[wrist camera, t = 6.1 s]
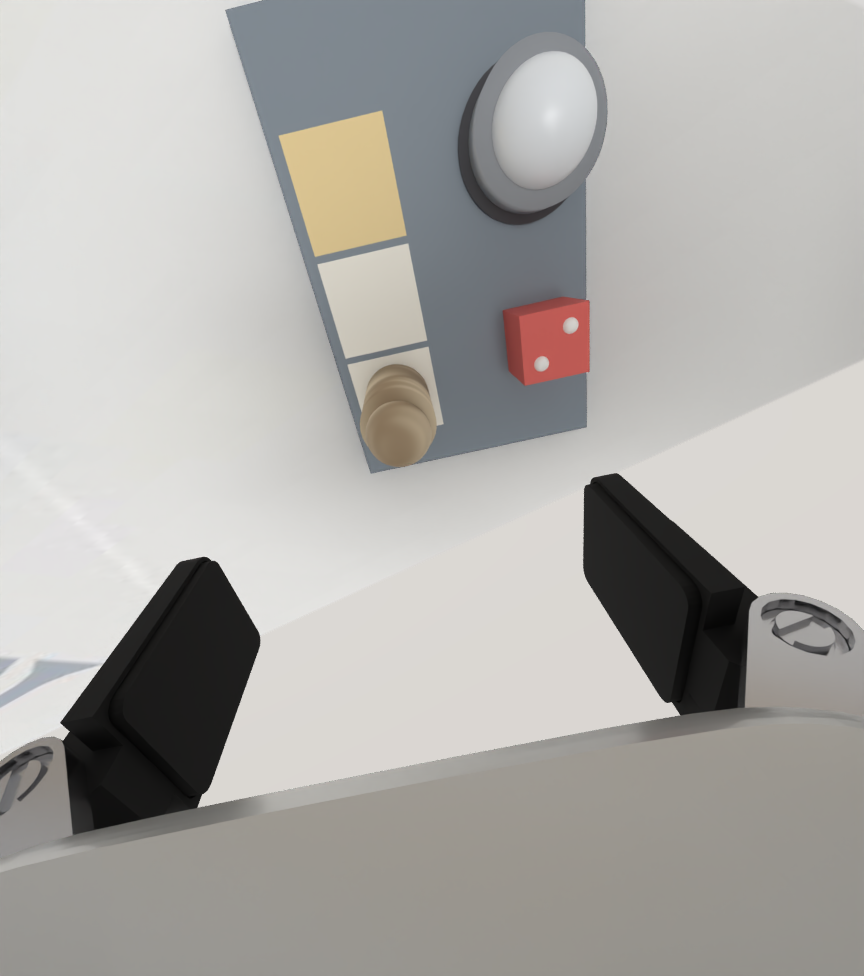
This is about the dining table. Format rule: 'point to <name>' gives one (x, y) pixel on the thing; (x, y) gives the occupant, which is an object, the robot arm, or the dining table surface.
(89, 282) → the dining table surface
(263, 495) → the dining table surface
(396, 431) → the pawn
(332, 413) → the dining table surface
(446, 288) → the board
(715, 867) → the robot arm
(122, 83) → the dining table surface
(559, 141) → the dome
